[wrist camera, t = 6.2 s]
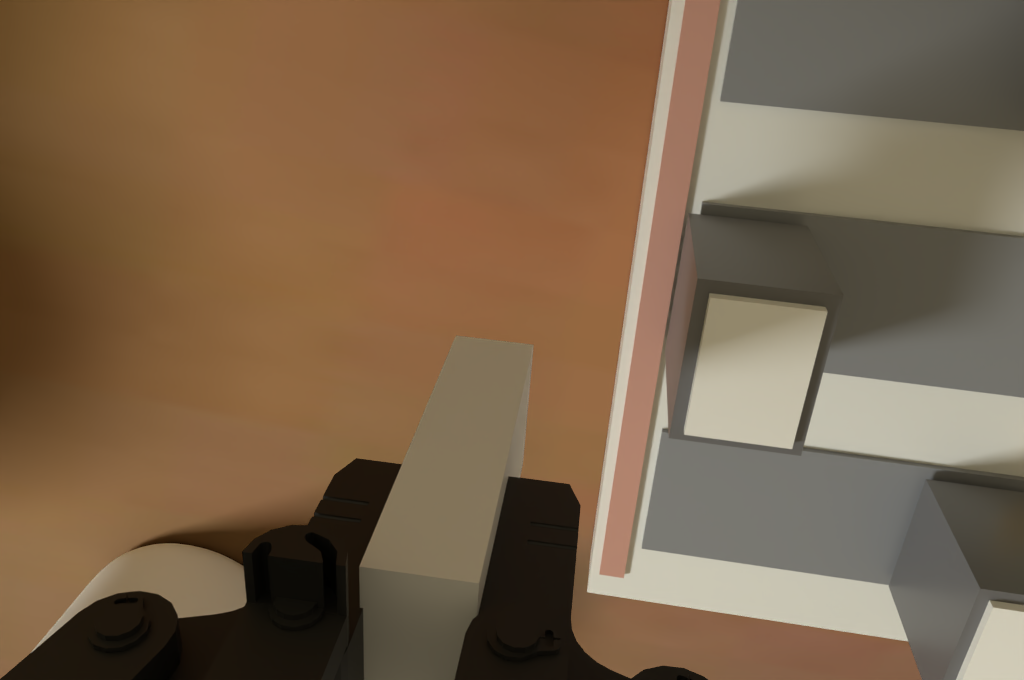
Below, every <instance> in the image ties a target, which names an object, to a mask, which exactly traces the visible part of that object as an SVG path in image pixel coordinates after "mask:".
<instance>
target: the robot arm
mask: <svg viewBox="0 0 1024 680" xmlns="http://www.w3.org/2000/svg"><path fill="white" fill-rule="evenodd" d="M532 356H533V345H531V344H522V343H514V342H506V341H497V340H489V339H480V338H472V337H463V336H456V337H455V339H454V341H453V344H452V346H451V349H450V351H449V353H448V356H447V358H446V361H445V363H444V365H443V368H442V370H441V372H440V375H439V377H438V380H437V382H436V384H435V387H434V389H433V392H432V394H431V396H430V399H429V401H428V404H427V406H426V408H425V411H424V413H423V415H422V418H421V420H420V423H419V425H418V427H417V430H416V432H415V435H414V437H413V439H412V442H411V444H410V447H409V449H408V451H407V454H406V456H405V458H404V461H403V463H402V464H395V463H388V462H380V461H372V460H365V459H357V458H356V459H355V460H354V461H352V462H351V463H350V464H348V465H347V466H346V467H344V468H343V469H342V470H340V471H339V472H338V473H336V474H335V475H334V477H333V479H332V480H331V482H330V484H329V486H328V488H327V490H326V492H325V494H324V496H323V500H321V501H320V503H319V505H318V507H317V509H316V511H315V512H314V517H312V518H311V520H310V522H309V524H308V525H290V526H286V527H282V528H278V529H274V530H270V531H268V532H267V533H265V534H263V535H261V536H259V537H257V538H255V539H254V540H253V541H252V542H251V543H250V544H249V545H248V546H247V547H246V548H245V549H244V550H243V551H242V556H243V567H244V578H245V588H246V599H247V602H246V604H245V606H244V607H242V608H239V609H236V610H234V611H230V612H224V613H219V614H213V615H203V616H194V617H185V618H178V615H177V613H176V611H175V609H174V607H173V604H172V603H171V602H170V601H168V600H167V599H165V598H163V597H162V596H160V595H159V594H154V593H149V592H143V591H133V592H124V593H117V594H114V595H111V596H108V597H105V598H103V599H100V600H97V601H95V602H94V603H92V604H91V605H89V606H88V607H86V608H84V609H83V610H81V611H80V612H78V613H77V614H76V615H75V616H74V617H72V618H71V619H70V620H69V621H68V622H67V623H65V624H64V625H63V626H62V627H61V628H60V629H58V630H57V631H56V632H55V633H54V634H53V635H51V636H50V637H49V638H48V639H47V640H46V641H44V642H43V643H42V644H41V645H40V646H39V647H37V648H36V649H35V650H34V651H33V652H32V653H30V654H29V655H28V656H27V657H26V658H24V659H23V660H22V661H21V662H20V663H19V664H17V665H16V666H15V667H14V668H13V669H12V670H10V671H9V672H8V673H7V674H6V675H5V676H3V677H2V678H1V679H0V680H707V679H706V678H705V677H703V676H701V675H699V674H696V673H694V672H692V671H689V670H687V669H685V668H678V667H669V666H659V667H655V668H650V669H645V670H643V671H641V672H640V673H639V674H637V675H636V676H634V677H633V678H632V679H630V678H628V677H625V676H623V675H621V674H619V673H616V672H614V671H612V670H610V669H608V668H606V667H604V666H602V665H601V664H599V663H597V662H596V661H595V660H593V659H592V658H591V657H590V656H589V655H587V654H586V653H585V652H584V650H583V649H582V648H581V646H580V645H579V644H578V642H577V641H576V639H575V636H574V634H573V631H572V627H571V609H572V597H573V586H574V574H575V563H576V550H577V540H578V528H579V516H580V504H579V502H578V500H577V498H576V496H575V494H574V492H573V490H572V488H571V486H570V485H569V484H564V483H556V482H548V481H541V480H533V479H526V478H520V475H521V470H522V465H523V456H524V445H525V434H526V423H527V412H528V400H529V389H530V378H531V367H532Z"/></svg>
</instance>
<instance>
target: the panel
mask: <svg viewBox="0 0 1024 680" xmlns="http://www.w3.org/2000/svg"><path fill="white" fill-rule="evenodd" d="M688 213H693V214H702V215H711V216H720V217H729V218H738V219H747V220H756V221H765V222H774V223H783V224H792V225H801V226H808V228H809V230H810V232H811V234H812V235H813V237H814V239H815V241H816V243H817V245H818V247H819V249H820V251H821V253H822V255H823V257H824V259H825V261H826V262H827V264H828V266H829V268H830V270H831V272H832V274H833V276H834V278H835V280H836V282H837V284H838V286H839V287H840V289H841V291H842V293H843V295H844V296H843V300H842V304H841V307H840V311H839V315H838V319H837V322H836V326H835V330H834V334H833V337H832V341H831V345H830V349H829V353H828V356H827V360H826V364H825V368H824V371H823V375H822V379H821V383H820V386H819V390H818V394H817V398H816V401H815V405H814V409H813V413H812V417H811V420H810V424H809V428H808V432H807V435H806V439H805V443H804V447H803V450H802V454H801V456H797V455H790V454H782V453H775V452H768V451H760V450H753V449H745V448H738V447H731V446H723V445H716V444H708V443H701V442H694V441H686V440H679V439H671V438H669V433H668V409H667V385H666V360H665V349H666V343H667V337H668V331H669V325H670V319H671V313H672V307H673V302H674V296H675V290H676V284H677V278H678V272H679V266H680V260H681V254H682V248H683V242H684V237H685V231H686V225H687V219H688ZM926 479H929V480H936V481H944V482H951V483H959V484H966V485H973V486H981V487H988V488H995V489H1003V490H1010V491H1017V492H1024V0H669V6H668V13H667V20H666V27H665V34H664V41H663V48H662V55H661V62H660V69H659V76H658V83H657V90H656V97H655V104H654V112H653V119H652V126H651V133H650V140H649V147H648V154H647V161H646V168H645V175H644V182H643V189H642V196H641V203H640V210H639V217H638V224H637V231H636V238H635V245H634V252H633V259H632V266H631V273H630V280H629V287H628V294H627V301H626V308H625V315H624V322H623V329H622V336H621V343H620V350H619V357H618V364H617V371H616V378H615V386H614V393H613V400H612V407H611V414H610V421H609V428H608V435H607V442H606V449H605V456H604V463H603V470H602V477H601V484H600V491H599V498H598V505H597V512H596V519H595V526H594V533H593V540H592V547H591V555H590V566H589V577H588V588H587V592H590V593H596V594H603V595H609V596H616V597H622V598H629V599H635V600H642V601H648V602H655V603H661V604H668V605H674V606H681V607H687V608H694V609H701V610H707V611H714V612H720V613H727V614H733V615H740V616H746V617H753V618H759V619H766V620H772V621H779V622H785V623H792V624H798V625H805V626H812V627H818V628H825V629H831V630H838V631H844V632H851V633H857V634H864V635H870V636H877V637H883V638H890V639H896V640H903V641H908V639H907V636H906V633H905V631H904V628H903V625H902V622H901V619H900V617H899V614H898V611H897V608H896V606H895V603H894V600H893V597H892V595H891V592H890V589H889V584H890V581H891V578H892V575H893V572H894V569H895V566H896V563H897V561H898V558H899V555H900V552H901V549H902V546H903V543H904V541H905V538H906V535H907V532H908V529H909V526H910V523H911V520H912V518H913V515H914V512H915V509H916V506H917V503H918V500H919V498H920V495H921V492H922V489H923V486H924V483H925V480H926Z"/></svg>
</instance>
